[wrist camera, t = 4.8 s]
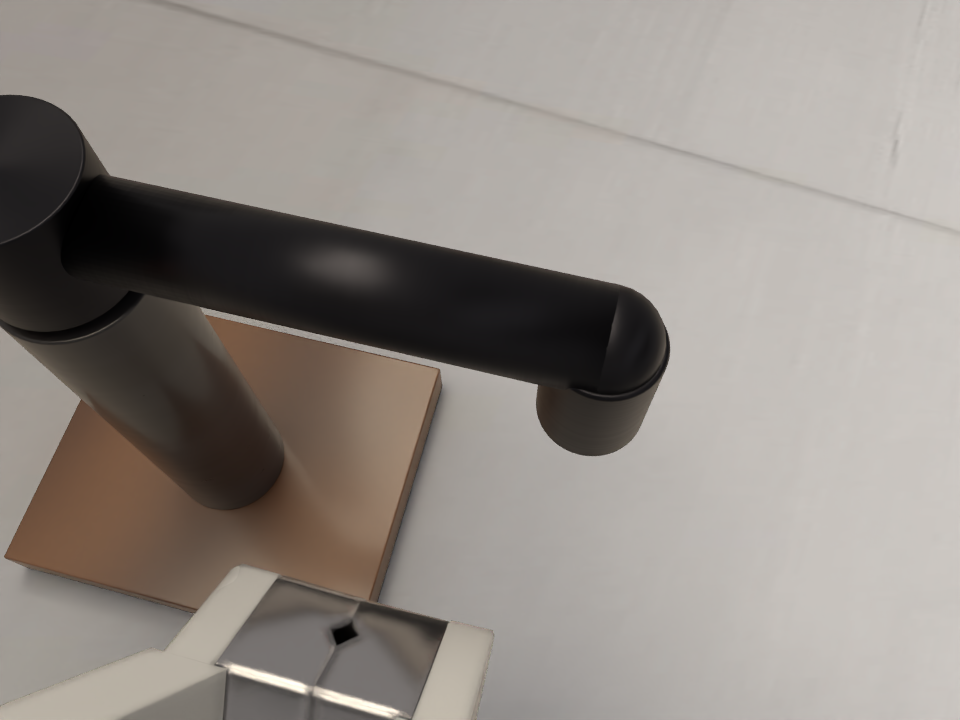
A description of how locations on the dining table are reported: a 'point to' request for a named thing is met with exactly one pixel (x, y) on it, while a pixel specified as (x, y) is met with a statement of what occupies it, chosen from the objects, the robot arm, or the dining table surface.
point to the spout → (314, 281)
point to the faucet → (221, 455)
